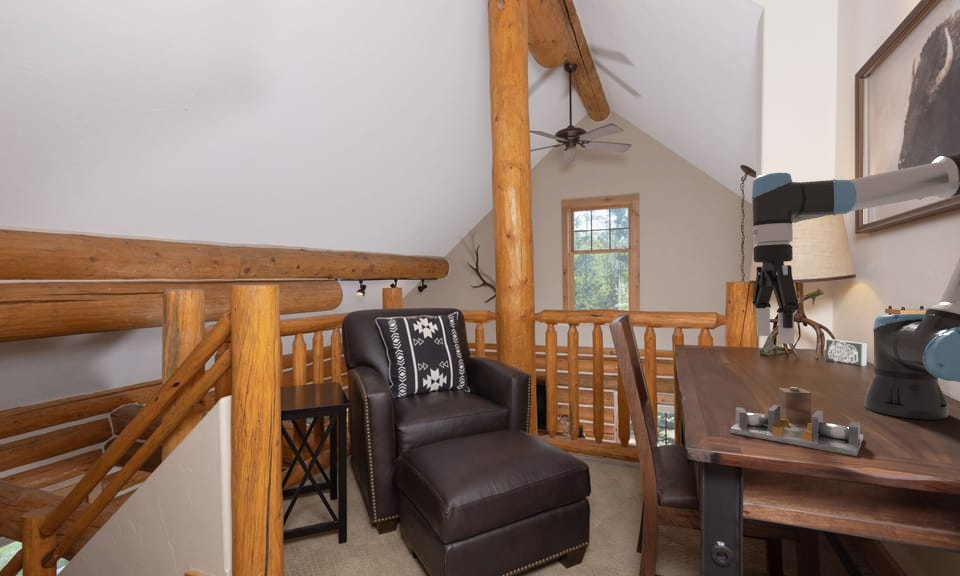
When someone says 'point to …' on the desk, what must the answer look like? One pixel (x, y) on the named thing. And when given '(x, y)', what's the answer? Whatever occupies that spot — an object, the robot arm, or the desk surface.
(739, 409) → the shaft
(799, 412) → the block
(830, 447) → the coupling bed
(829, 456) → the desk surface
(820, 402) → the desk surface
